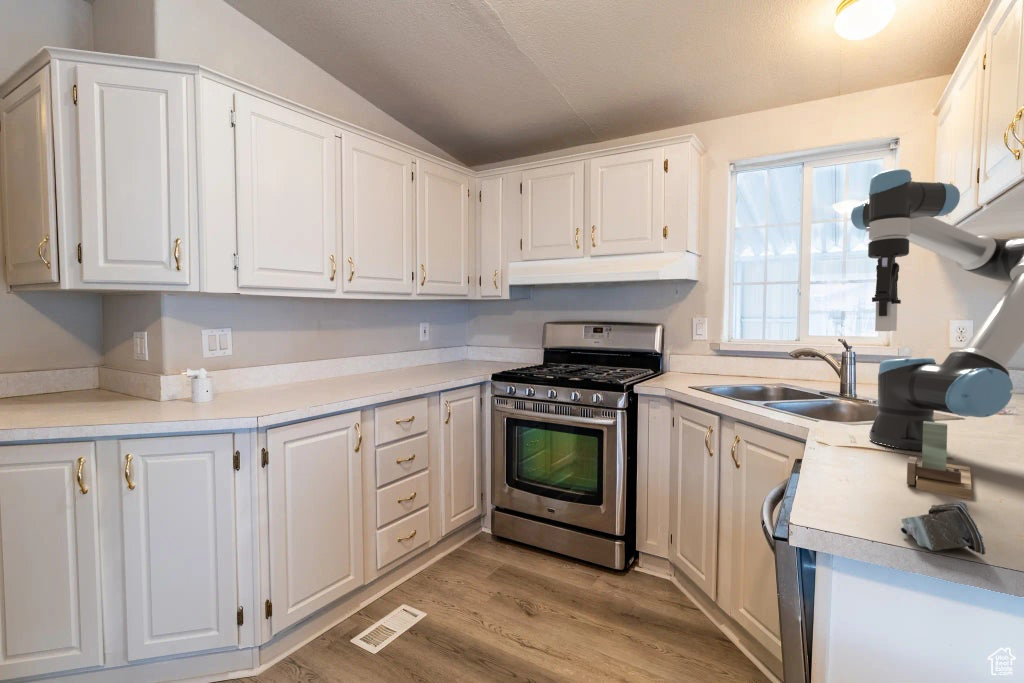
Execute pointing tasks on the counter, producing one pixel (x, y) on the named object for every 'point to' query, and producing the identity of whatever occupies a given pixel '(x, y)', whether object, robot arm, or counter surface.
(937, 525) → the chocolate cake
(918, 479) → the oak board
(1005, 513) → the counter surface
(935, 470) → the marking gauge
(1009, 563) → the counter surface
